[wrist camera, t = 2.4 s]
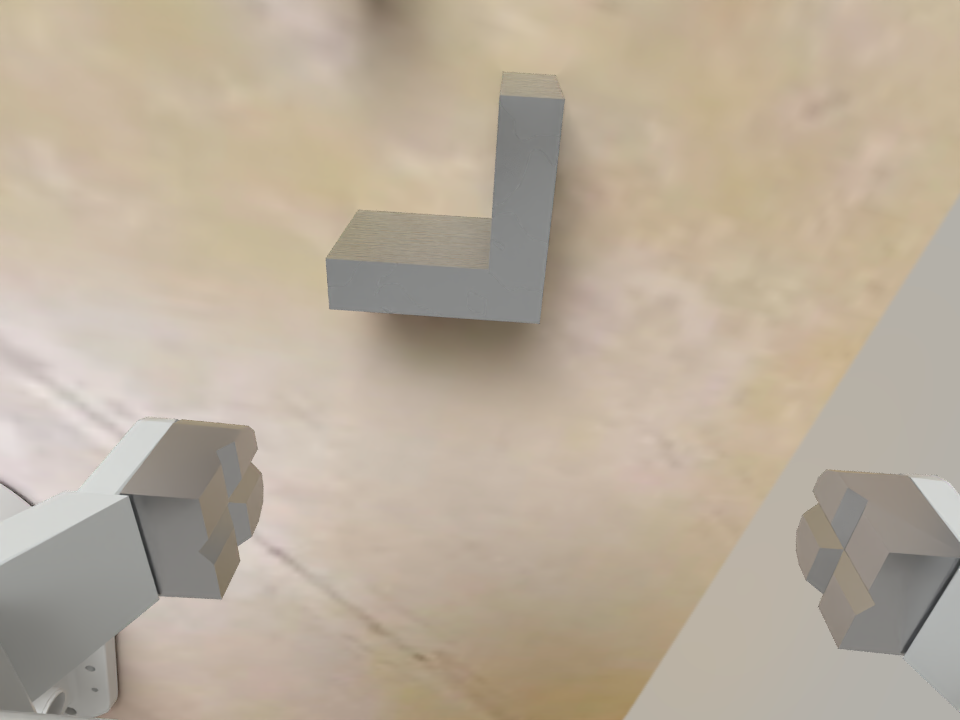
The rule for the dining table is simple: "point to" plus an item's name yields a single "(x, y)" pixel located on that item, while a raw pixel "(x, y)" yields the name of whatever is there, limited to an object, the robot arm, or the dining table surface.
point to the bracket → (465, 230)
